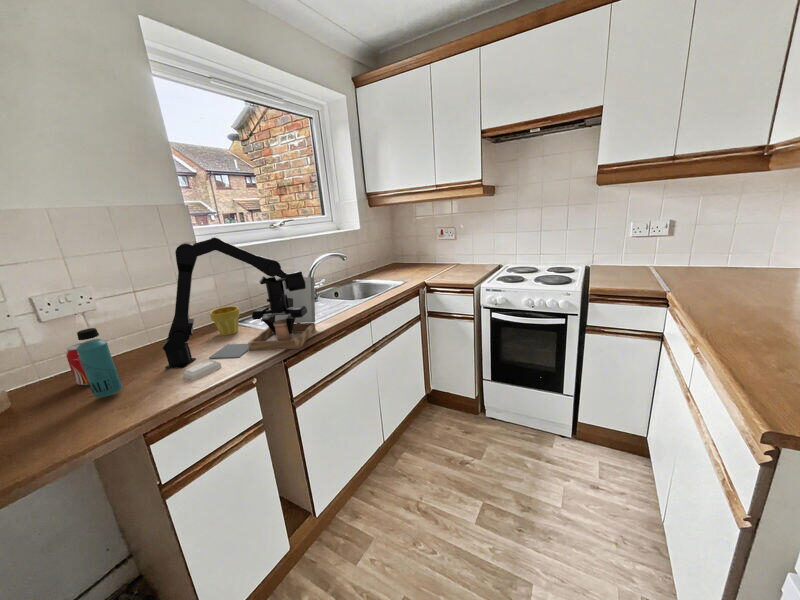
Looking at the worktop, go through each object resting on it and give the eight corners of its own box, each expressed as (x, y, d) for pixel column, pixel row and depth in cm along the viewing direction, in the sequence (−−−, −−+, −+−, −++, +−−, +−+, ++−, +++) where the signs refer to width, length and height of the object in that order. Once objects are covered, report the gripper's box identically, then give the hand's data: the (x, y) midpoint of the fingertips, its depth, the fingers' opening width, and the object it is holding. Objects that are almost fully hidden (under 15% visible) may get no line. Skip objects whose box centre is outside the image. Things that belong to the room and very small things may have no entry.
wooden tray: (298, 348, 116) (297, 340, 116) (249, 350, 118) (247, 342, 117) (315, 329, 134) (314, 322, 133) (272, 331, 135) (271, 324, 135)
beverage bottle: (121, 387, 99) (99, 323, 93) (127, 394, 95) (104, 327, 89) (92, 398, 94) (67, 331, 88) (97, 405, 90) (71, 336, 84)
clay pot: (288, 342, 123) (285, 324, 121) (273, 342, 123) (270, 324, 122) (295, 336, 128) (292, 318, 126) (280, 336, 129) (277, 319, 127)
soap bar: (184, 378, 102) (182, 370, 102) (213, 365, 110) (211, 358, 109) (193, 381, 100) (191, 373, 99) (221, 368, 107) (219, 360, 106)
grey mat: (239, 357, 113) (239, 356, 113) (209, 358, 114) (208, 357, 114) (255, 344, 124) (255, 343, 123) (227, 345, 125) (227, 344, 125)
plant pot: (232, 337, 132) (226, 313, 130) (209, 337, 135) (203, 314, 132) (248, 327, 142) (243, 305, 139) (227, 327, 144) (221, 306, 142)
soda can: (84, 378, 106) (71, 343, 103) (111, 373, 109) (99, 339, 105) (72, 389, 100) (58, 352, 97) (101, 383, 102) (88, 347, 99)
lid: (313, 276, 134) (314, 277, 135) (270, 279, 136) (271, 279, 136) (314, 322, 133) (315, 322, 133) (271, 324, 135) (271, 324, 135)
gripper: (309, 287, 128) (315, 325, 132) (262, 289, 130) (269, 327, 134) (298, 294, 117) (304, 336, 121) (247, 297, 119) (255, 338, 123)
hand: (283, 334), depth 125 cm, fingers closed on clay pot, 5 cm apart
